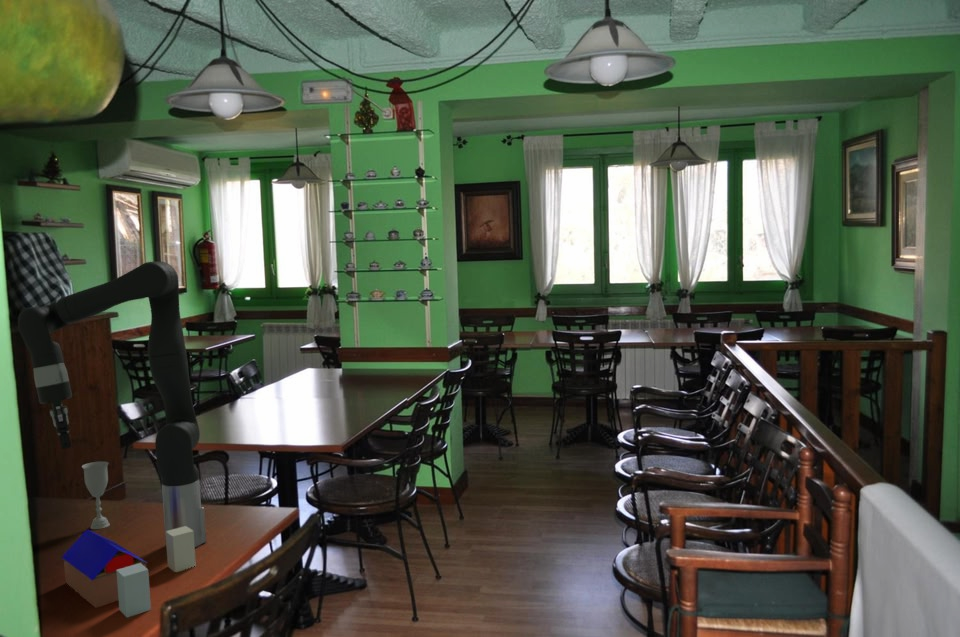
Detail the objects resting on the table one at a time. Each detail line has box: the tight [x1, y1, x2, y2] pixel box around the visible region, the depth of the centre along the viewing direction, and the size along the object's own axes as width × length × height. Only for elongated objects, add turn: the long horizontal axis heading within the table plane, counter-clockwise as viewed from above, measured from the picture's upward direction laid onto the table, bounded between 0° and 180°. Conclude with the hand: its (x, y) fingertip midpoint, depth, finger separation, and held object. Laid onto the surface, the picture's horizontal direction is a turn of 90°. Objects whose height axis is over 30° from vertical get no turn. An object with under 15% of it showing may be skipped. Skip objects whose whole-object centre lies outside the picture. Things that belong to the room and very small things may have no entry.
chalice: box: [81, 461, 111, 530], centre depth 215 cm, size 7×7×18 cm
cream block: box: [164, 526, 197, 573], centre depth 185 cm, size 5×5×9 cm
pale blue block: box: [116, 563, 152, 618], centre depth 162 cm, size 5×5×9 cm
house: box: [61, 529, 148, 609], centre depth 175 cm, size 12×20×12 cm, turn 46°
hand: (66, 448), depth 194 cm, fingers closed
